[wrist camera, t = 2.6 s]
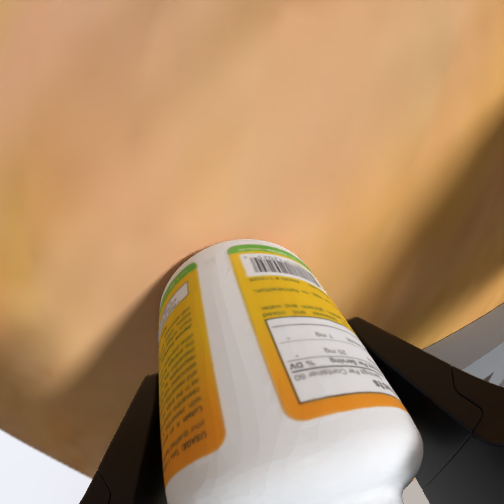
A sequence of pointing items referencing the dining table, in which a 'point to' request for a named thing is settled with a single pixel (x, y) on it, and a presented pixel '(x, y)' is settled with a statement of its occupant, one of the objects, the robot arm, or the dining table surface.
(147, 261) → the dining table surface
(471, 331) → the plate
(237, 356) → the supplement bottle
